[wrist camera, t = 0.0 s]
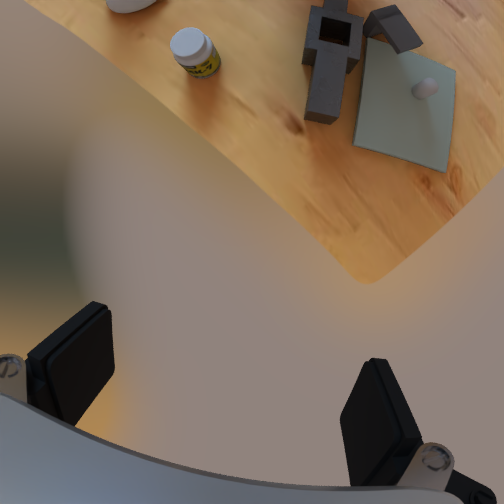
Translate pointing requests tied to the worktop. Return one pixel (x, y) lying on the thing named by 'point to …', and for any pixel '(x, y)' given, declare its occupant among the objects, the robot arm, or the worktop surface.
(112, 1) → the flower in vase
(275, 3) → the worktop surface
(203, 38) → the supplement bottle
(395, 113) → the board
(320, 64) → the link
